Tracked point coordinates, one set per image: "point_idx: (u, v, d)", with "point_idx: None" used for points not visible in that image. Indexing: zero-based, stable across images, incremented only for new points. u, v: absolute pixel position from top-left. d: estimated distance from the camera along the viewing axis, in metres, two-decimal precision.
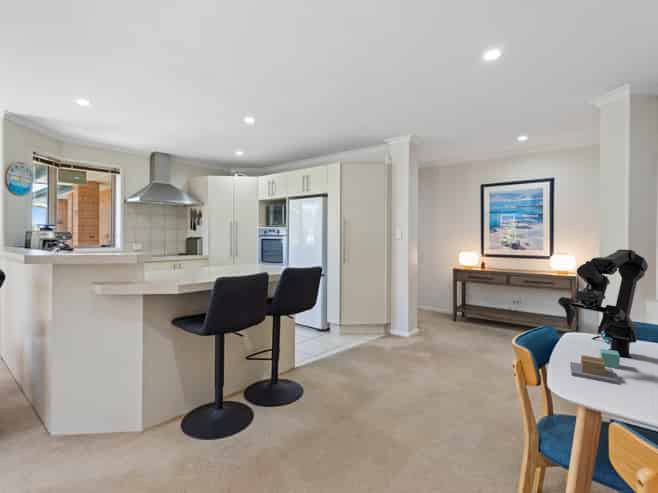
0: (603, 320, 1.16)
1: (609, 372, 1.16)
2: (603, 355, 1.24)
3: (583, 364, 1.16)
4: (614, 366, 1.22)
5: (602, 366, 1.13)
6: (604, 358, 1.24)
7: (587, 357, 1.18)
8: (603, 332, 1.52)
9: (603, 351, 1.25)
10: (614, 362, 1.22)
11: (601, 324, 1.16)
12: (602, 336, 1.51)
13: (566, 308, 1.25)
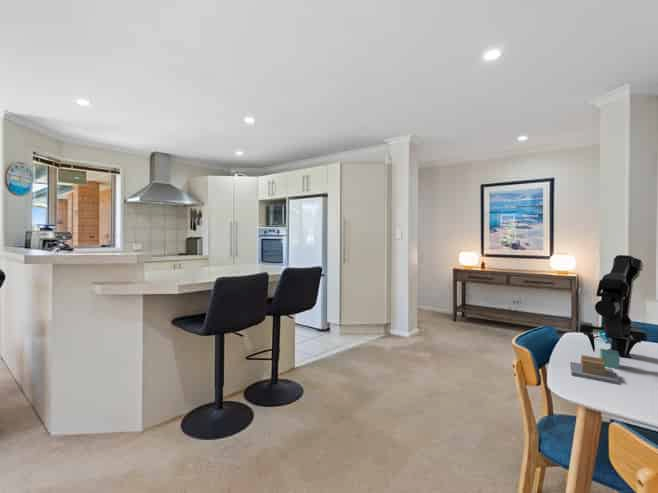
0: (630, 345, 1.20)
1: (609, 372, 1.16)
2: (603, 355, 1.24)
3: (583, 364, 1.16)
4: (614, 366, 1.22)
5: (602, 366, 1.13)
6: (604, 358, 1.24)
7: (587, 357, 1.18)
8: (602, 332, 1.53)
9: (603, 351, 1.25)
10: (614, 362, 1.22)
11: (628, 349, 1.21)
12: (601, 336, 1.51)
13: (590, 336, 1.26)
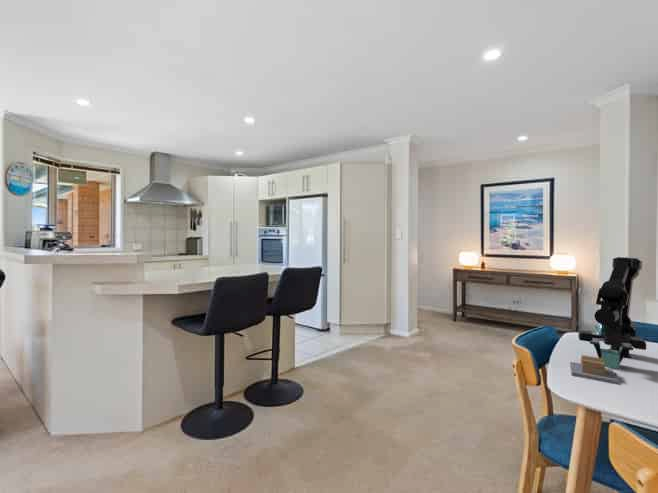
0: (622, 353, 1.22)
1: (609, 372, 1.16)
2: (603, 355, 1.24)
3: (583, 364, 1.16)
4: (614, 366, 1.22)
5: (602, 366, 1.13)
6: (604, 358, 1.24)
7: (587, 357, 1.18)
8: (600, 331, 1.54)
9: (603, 351, 1.25)
10: (614, 362, 1.22)
11: (621, 356, 1.22)
12: None
13: (596, 345, 1.25)
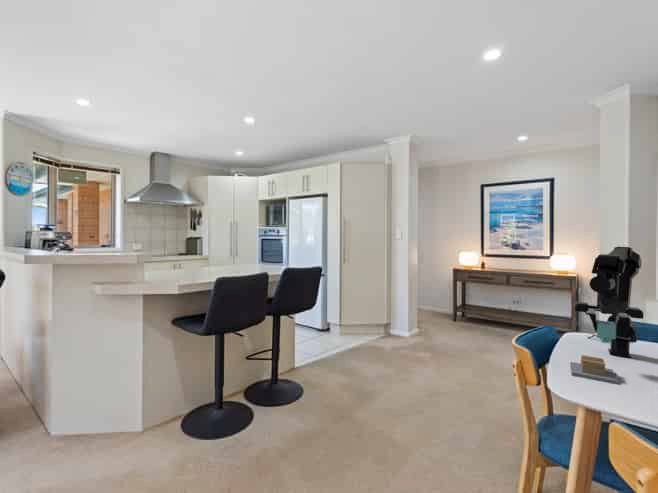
0: (619, 323, 1.18)
1: (609, 372, 1.16)
2: (599, 325, 1.20)
3: (583, 364, 1.16)
4: (610, 336, 1.19)
5: (602, 366, 1.13)
6: (600, 328, 1.20)
7: (587, 357, 1.18)
8: None
9: (599, 322, 1.22)
10: (611, 332, 1.19)
11: (617, 327, 1.19)
12: None
13: (592, 316, 1.22)
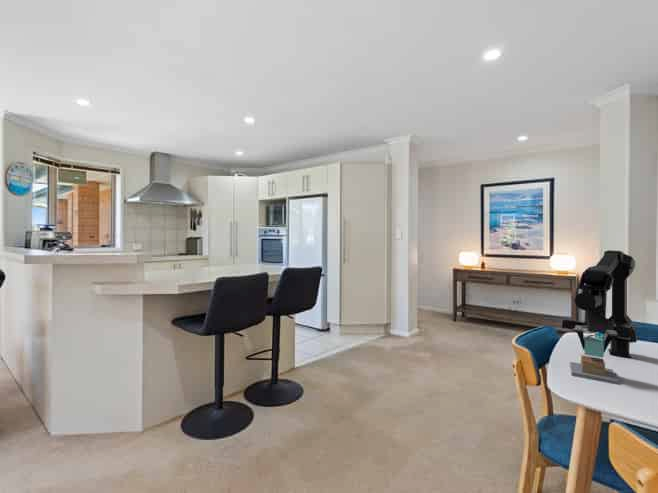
0: (607, 341, 1.14)
1: (609, 372, 1.16)
2: (587, 343, 1.16)
3: (583, 364, 1.16)
4: (598, 354, 1.14)
5: (602, 366, 1.13)
6: (588, 346, 1.16)
7: (587, 357, 1.18)
8: None
9: (587, 339, 1.17)
10: (598, 350, 1.14)
11: (605, 344, 1.14)
12: (596, 334, 1.53)
13: (579, 333, 1.17)
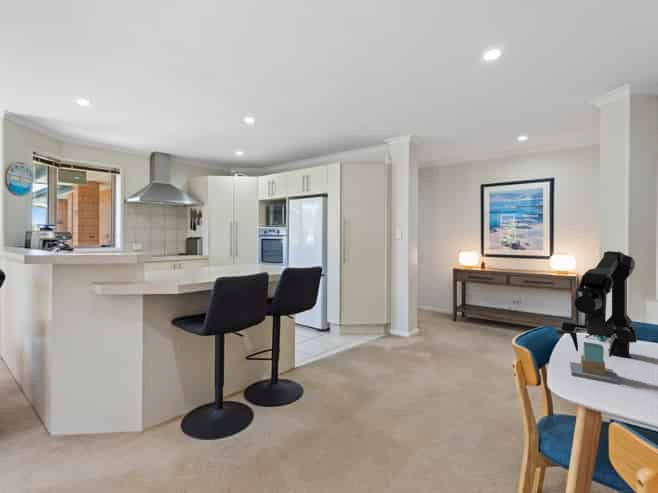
0: (614, 344, 1.13)
1: (609, 372, 1.16)
2: (586, 349, 1.16)
3: (583, 364, 1.16)
4: (598, 360, 1.14)
5: (602, 366, 1.13)
6: (587, 352, 1.16)
7: None
8: None
9: (586, 344, 1.17)
10: (598, 356, 1.14)
11: (612, 348, 1.13)
12: None
13: (572, 335, 1.18)
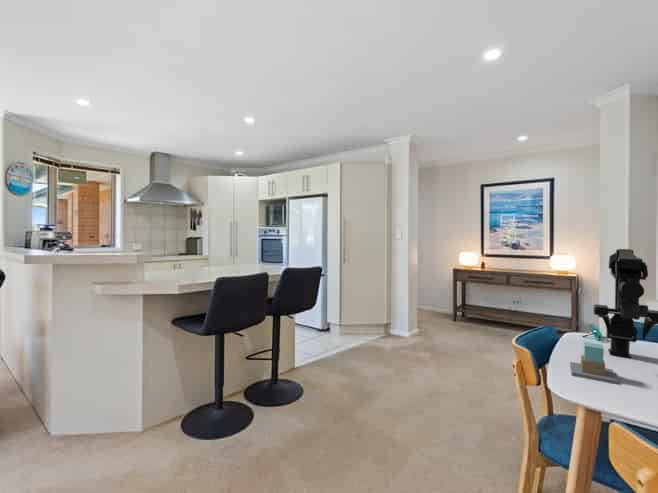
0: (647, 327, 1.17)
1: (609, 372, 1.16)
2: (586, 349, 1.16)
3: (583, 364, 1.16)
4: (598, 360, 1.14)
5: (602, 366, 1.13)
6: (587, 352, 1.16)
7: None
8: (592, 329, 1.56)
9: (586, 344, 1.17)
10: (598, 356, 1.14)
11: (646, 331, 1.17)
12: (592, 333, 1.54)
13: (605, 319, 1.23)
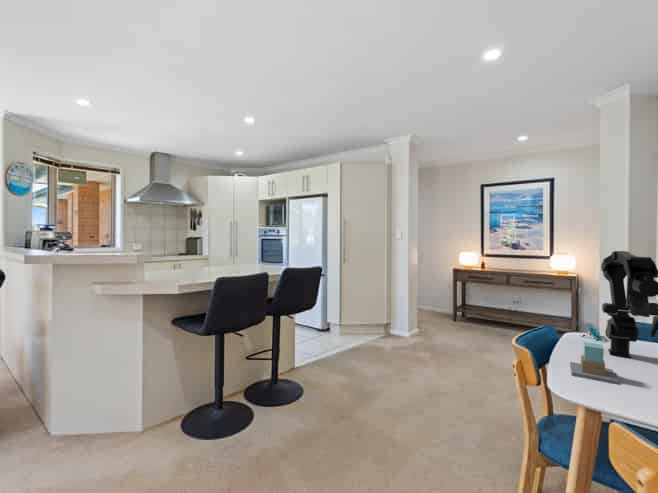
0: (656, 325, 1.18)
1: (609, 372, 1.16)
2: (586, 349, 1.16)
3: (583, 364, 1.16)
4: (598, 360, 1.14)
5: (602, 366, 1.13)
6: (587, 352, 1.16)
7: None
8: (590, 329, 1.57)
9: (586, 344, 1.17)
10: (598, 356, 1.14)
11: (655, 329, 1.18)
12: (591, 333, 1.55)
13: (614, 317, 1.23)
